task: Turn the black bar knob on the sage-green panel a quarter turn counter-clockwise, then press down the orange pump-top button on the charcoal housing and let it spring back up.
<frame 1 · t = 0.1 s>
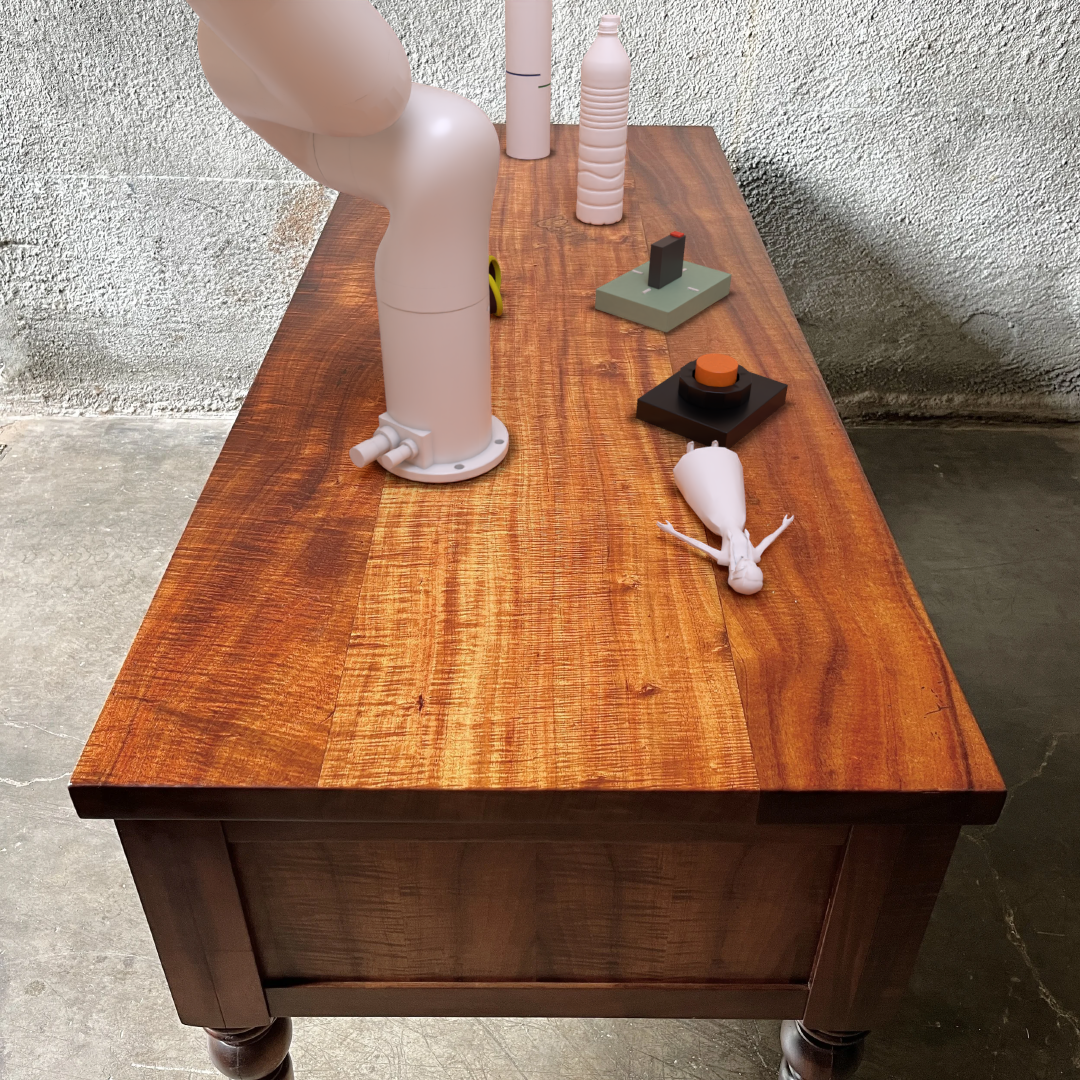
knob: (666, 259, 121), point 5 cm above the table, hinge at 0.0°
woman figurine: (721, 534, 87), on the table
button housing: (711, 411, 103), on the table
water bottle: (599, 216, 147), on the table
knob panel: (663, 301, 124), on the table
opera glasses: (479, 307, 122), on the table
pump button: (716, 370, 100), point 4 cm above the table, slide at 0.1 cm
cylindrical container: (528, 153, 170), on the table
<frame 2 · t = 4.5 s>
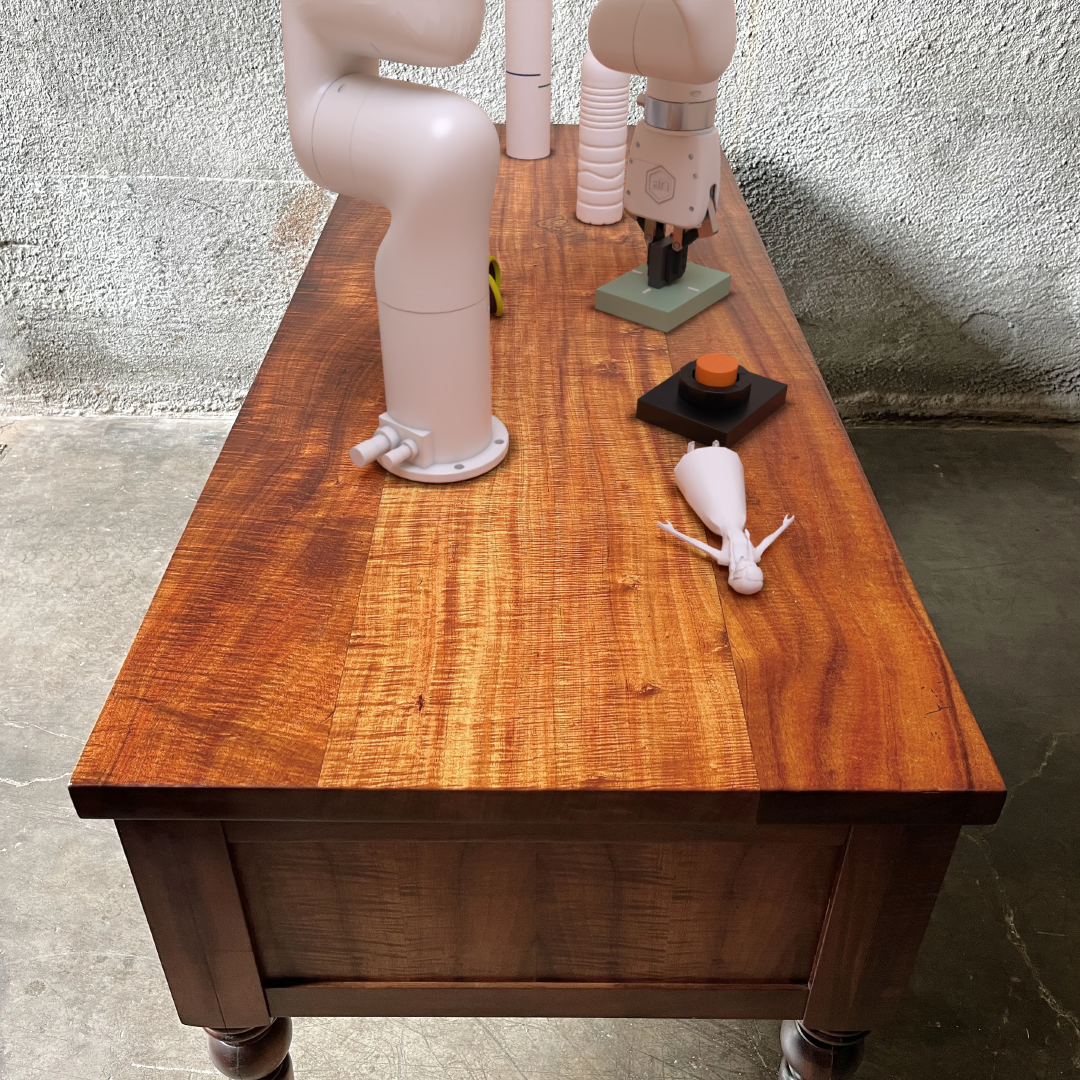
hand: (665, 275, 122), 3 cm above the table, tool pointing down, fingers closed on knob
knob: (666, 259, 121), point 5 cm above the table, hinge at 0.0°, touching gripper
everything else where it was.
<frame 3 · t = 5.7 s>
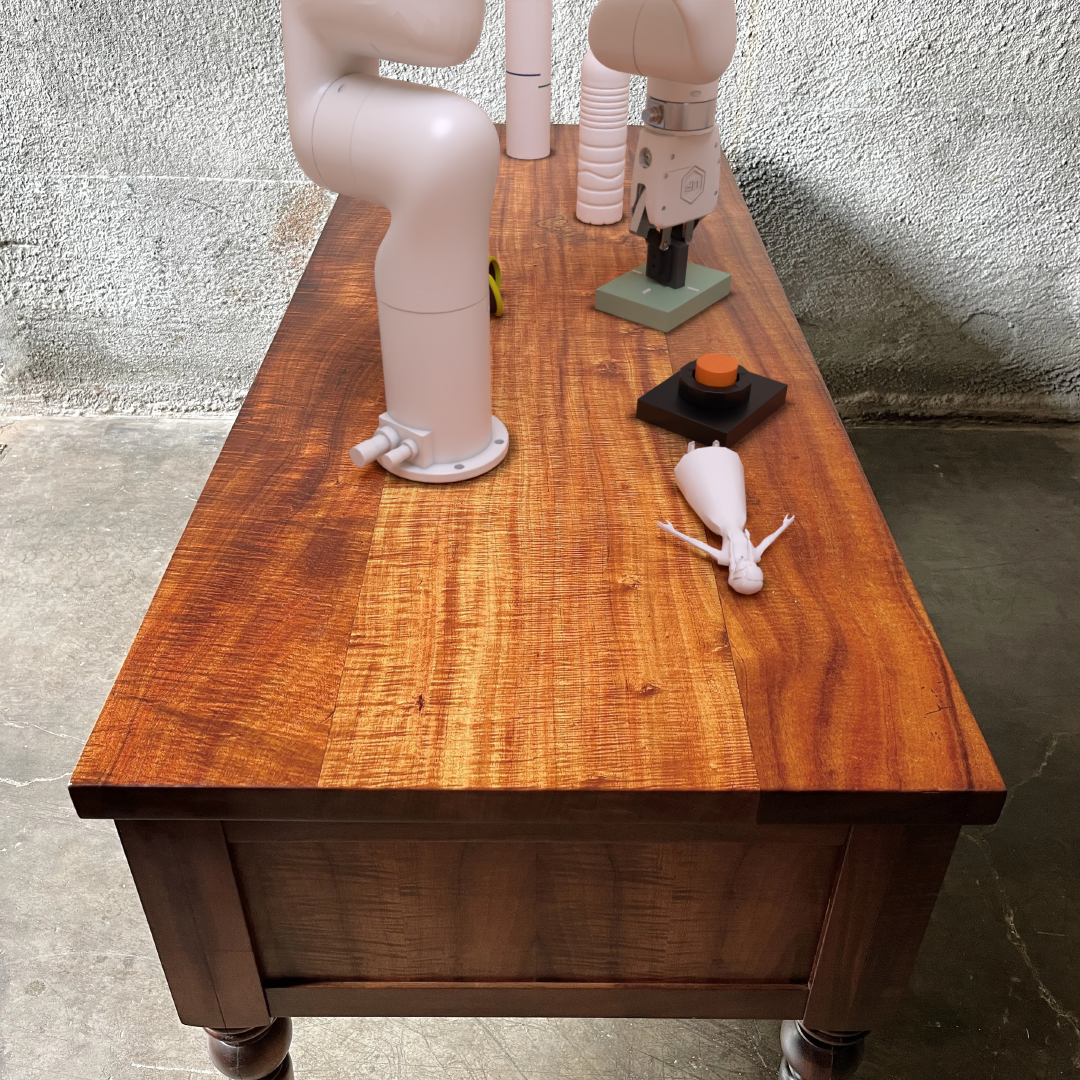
hand: (665, 275, 122), 3 cm above the table, tool pointing down, fingers closed on knob
knob: (666, 259, 121), point 5 cm above the table, hinge at 78.0°, touching gripper
everything else where it was.
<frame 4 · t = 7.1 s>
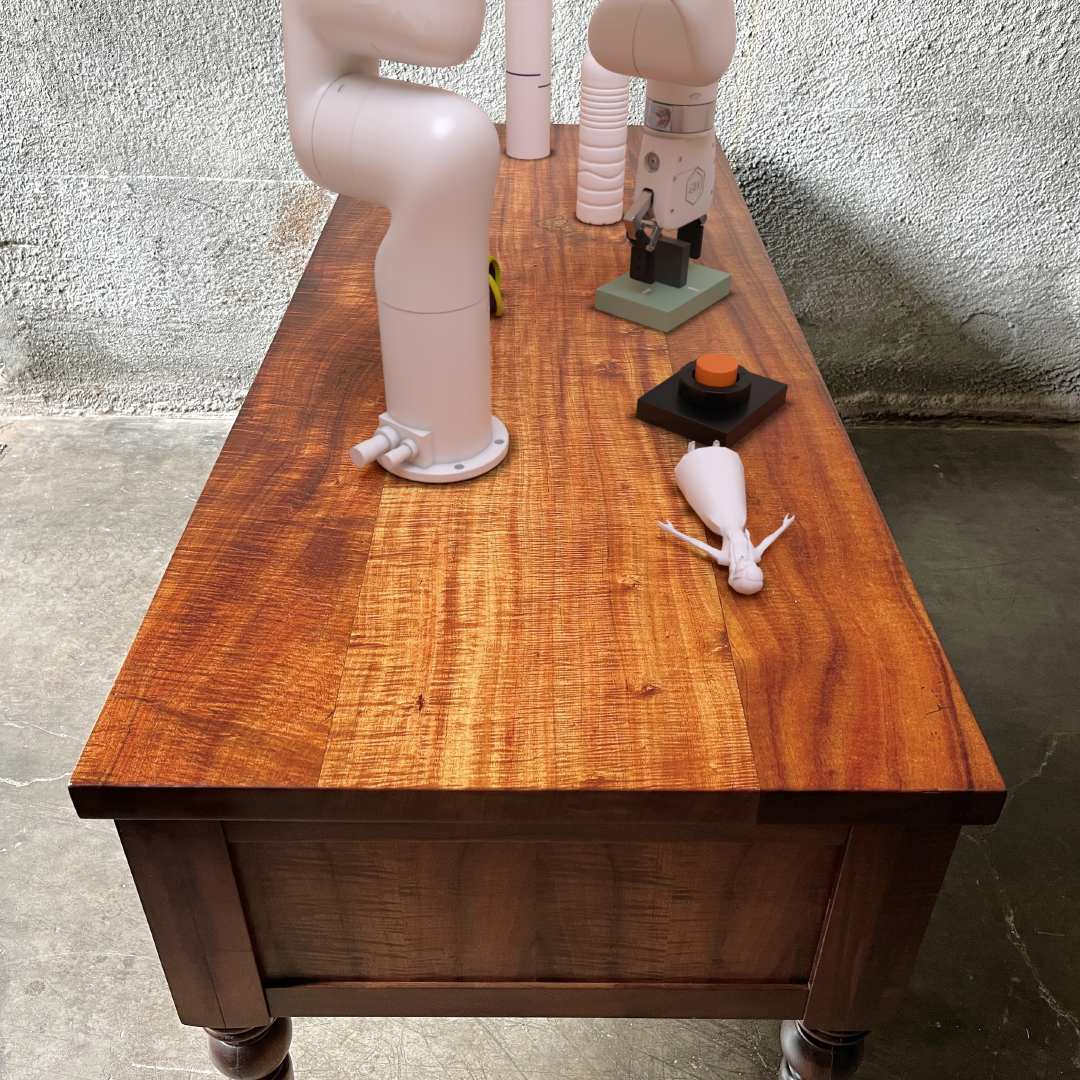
hand: (665, 268, 121), 4 cm above the table, tool pointing down, fingers open, 9 cm apart
knob: (666, 259, 121), point 5 cm above the table, hinge at 89.9°
everything else where it was.
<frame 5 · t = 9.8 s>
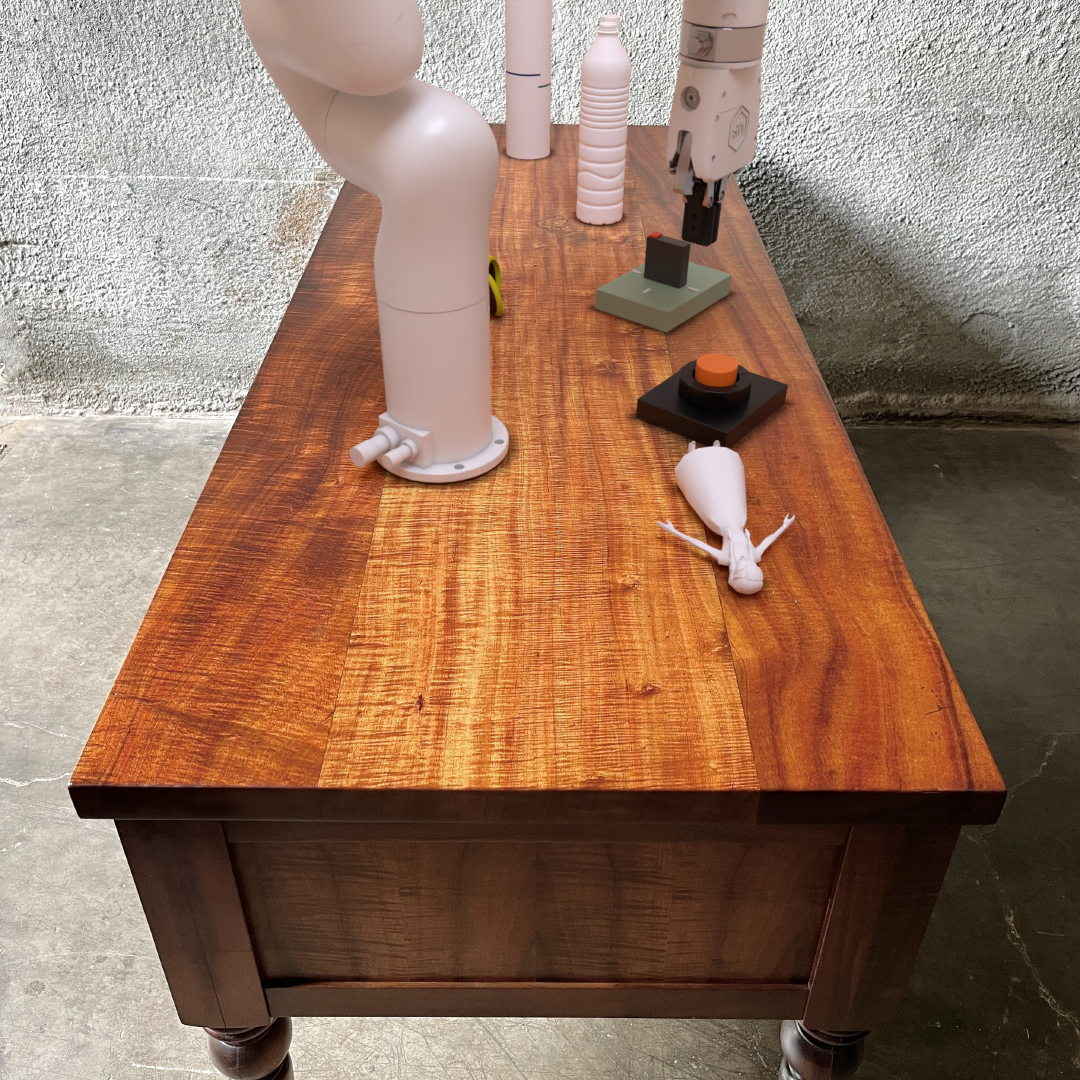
hand: (698, 241, 104), 13 cm above the table, tool pointing down, fingers closed
nothing on the table moved.
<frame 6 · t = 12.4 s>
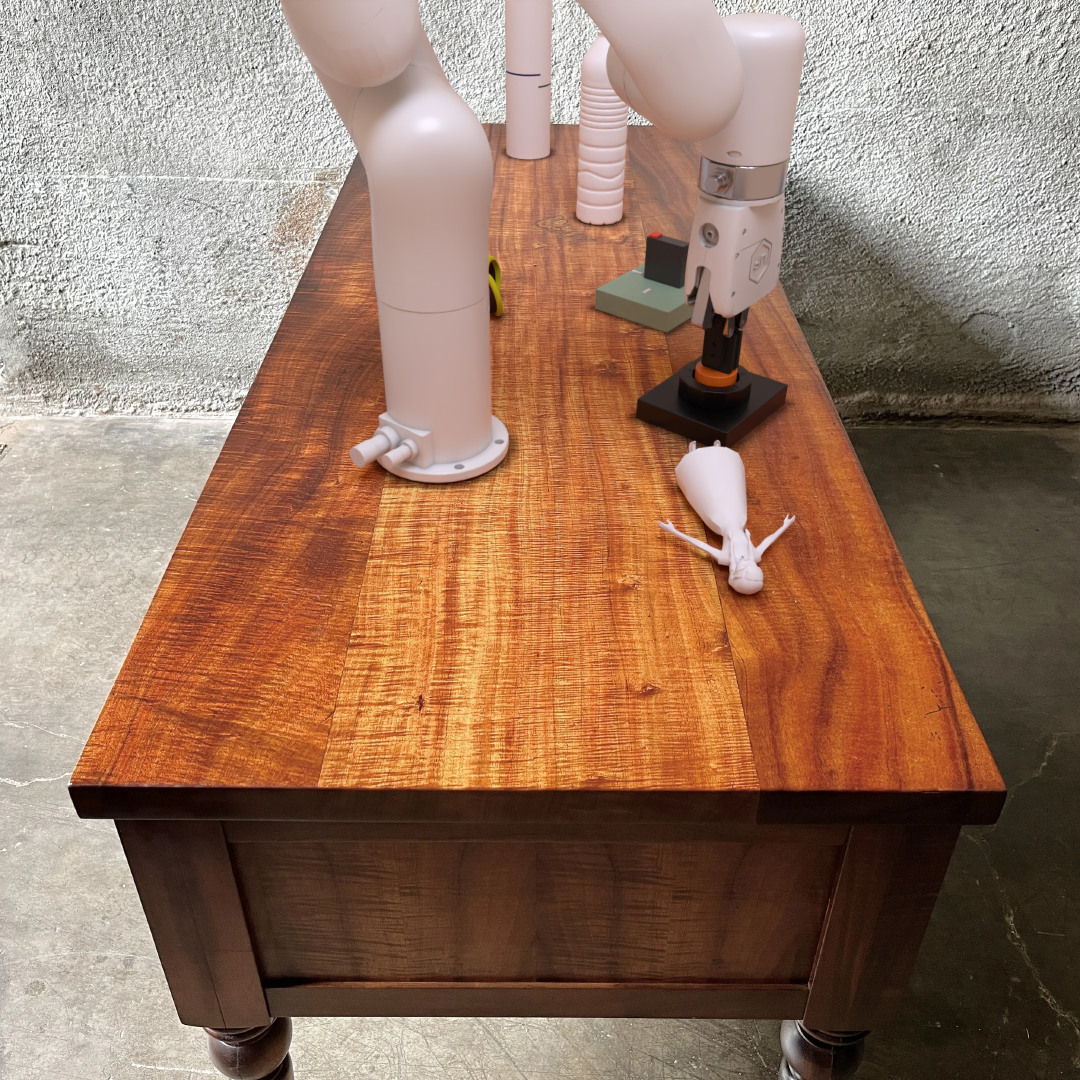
hand: (719, 367, 100), 5 cm above the table, tool pointing down, fingers closed
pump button: (715, 375, 100), point 4 cm above the table, slide at -0.5 cm, touching gripper
everything else where it was.
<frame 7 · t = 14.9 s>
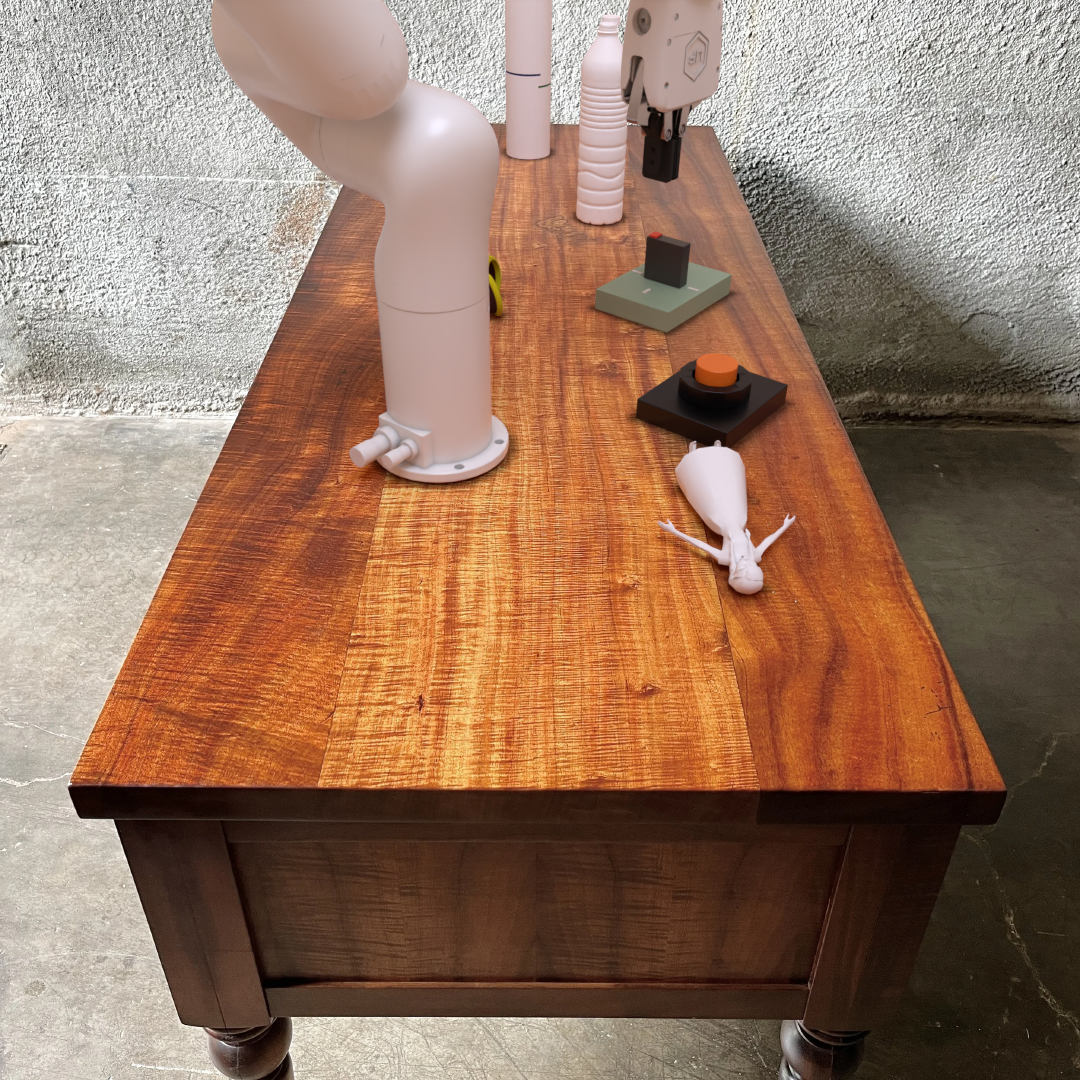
hand: (659, 177, 101), 19 cm above the table, tool pointing down, fingers closed
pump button: (716, 370, 100), point 4 cm above the table, slide at 0.1 cm
everything else where it was.
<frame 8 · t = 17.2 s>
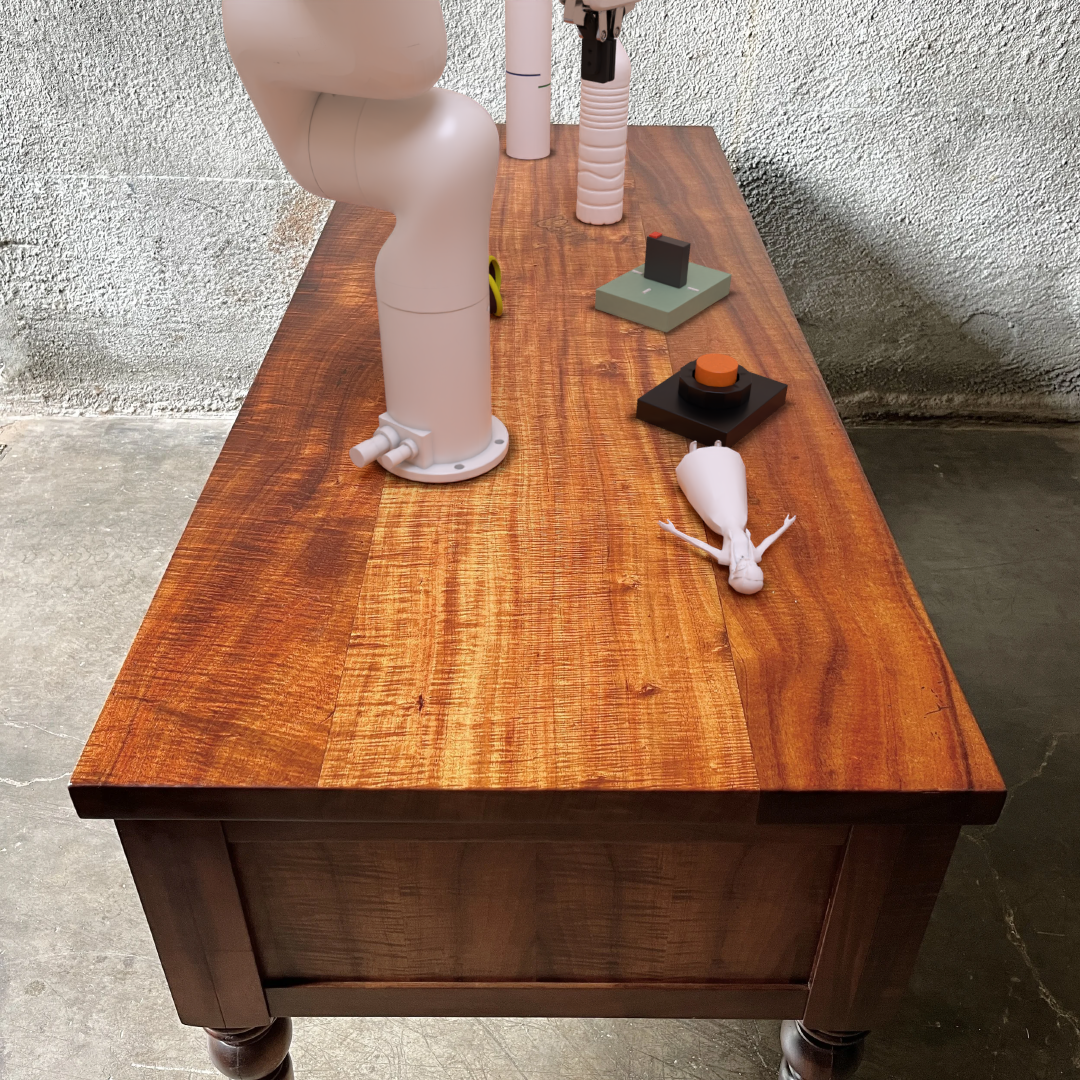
hand: (597, 79, 107), 25 cm above the table, tool pointing down, fingers closed
nothing on the table moved.
at the end: knob at +90° (first picture: +0°); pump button pushed in 1.1 cm at the most during the clip, back to where it started at the end; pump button slide at 0.1 cm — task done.
